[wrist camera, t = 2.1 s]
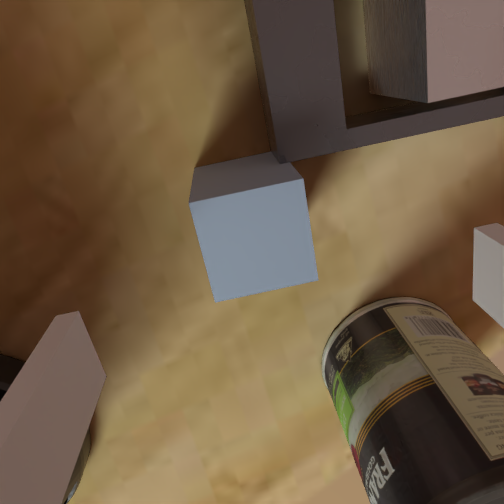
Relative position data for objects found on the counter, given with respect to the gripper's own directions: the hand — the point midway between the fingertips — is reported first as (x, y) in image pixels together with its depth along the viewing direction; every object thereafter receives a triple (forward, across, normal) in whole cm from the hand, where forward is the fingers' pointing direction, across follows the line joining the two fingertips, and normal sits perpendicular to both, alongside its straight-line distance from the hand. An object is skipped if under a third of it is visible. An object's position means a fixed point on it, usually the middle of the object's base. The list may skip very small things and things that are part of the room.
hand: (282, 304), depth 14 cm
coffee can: (+13, +8, -14) cm, 20 cm away
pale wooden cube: (+13, +10, +7) cm, 18 cm away
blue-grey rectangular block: (+12, 0, 0) cm, 13 cm away
